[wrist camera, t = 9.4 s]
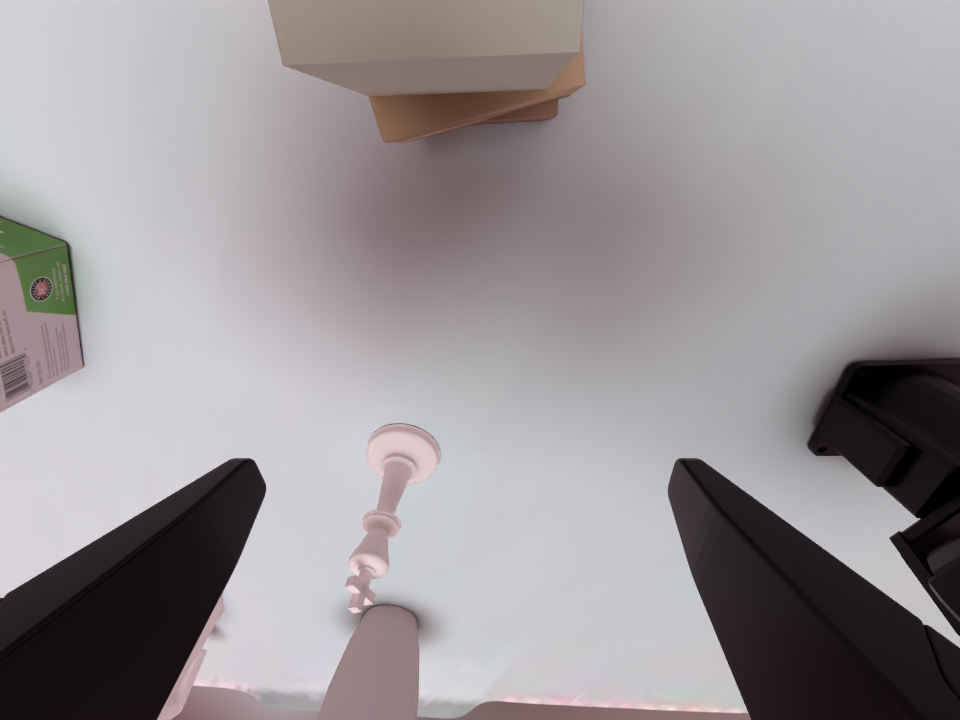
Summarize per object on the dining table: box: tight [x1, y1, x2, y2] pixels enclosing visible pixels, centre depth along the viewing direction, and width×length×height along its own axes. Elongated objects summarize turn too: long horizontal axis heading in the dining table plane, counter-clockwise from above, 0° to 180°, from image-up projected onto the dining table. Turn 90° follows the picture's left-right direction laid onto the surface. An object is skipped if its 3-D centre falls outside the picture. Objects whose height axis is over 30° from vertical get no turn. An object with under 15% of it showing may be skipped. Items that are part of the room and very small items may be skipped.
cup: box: [317, 605, 419, 720], centre depth 32 cm, size 8×8×10 cm
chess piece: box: [345, 424, 440, 613], centre depth 21 cm, size 5×5×10 cm
